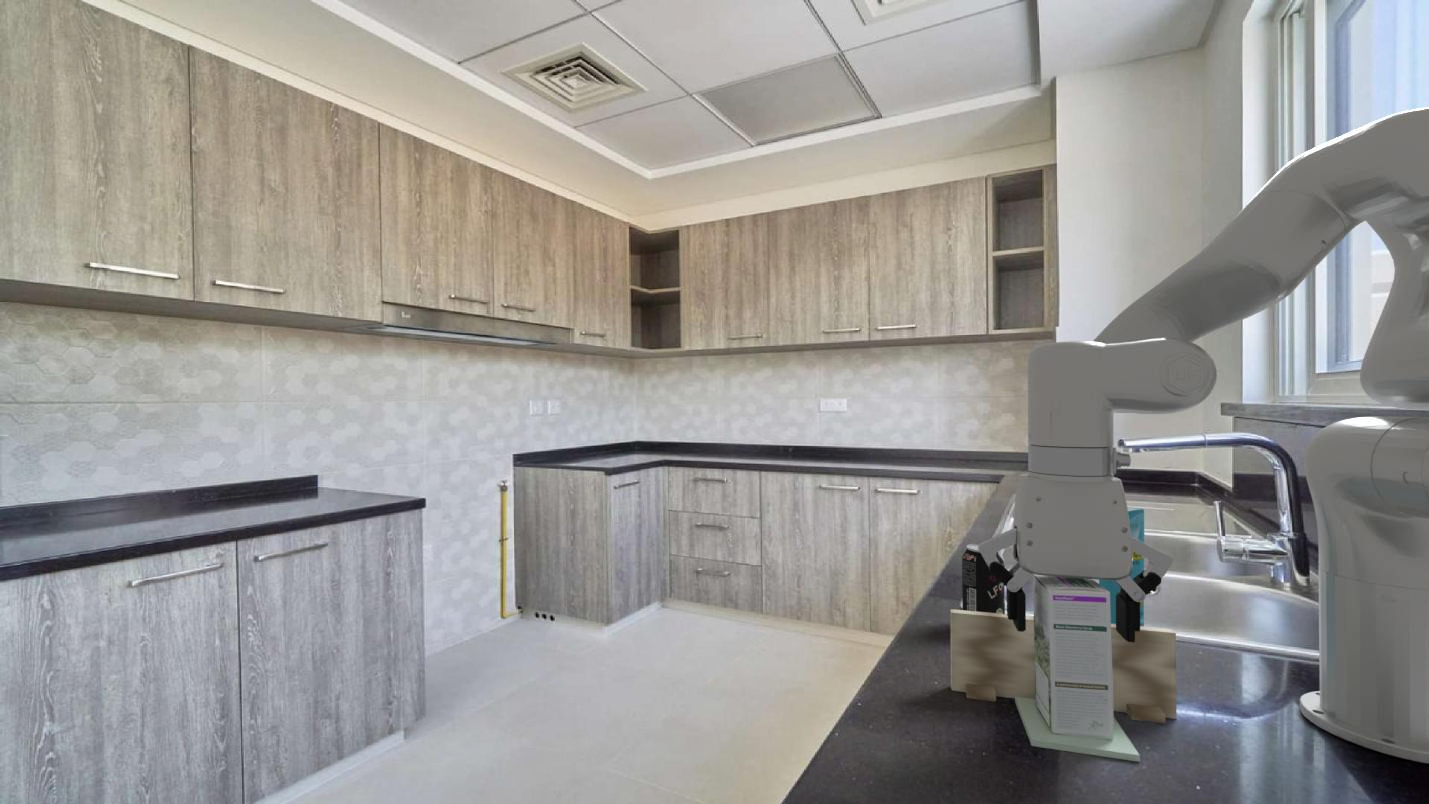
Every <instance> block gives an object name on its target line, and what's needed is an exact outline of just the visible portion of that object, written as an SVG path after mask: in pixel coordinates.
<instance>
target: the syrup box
mask: <svg viewBox="0 0 1429 804" xmlns="http://www.w3.org/2000/svg"><path fill="white" fill-rule="evenodd" d="M1032 579H1033V580H1032V583H1033V584H1032V585H1033V586H1032V587H1033V592H1032V594H1033V598H1032V600H1033V601H1032V602H1033V603H1032V604H1033V617H1034V650H1035V697H1036V707H1037V709H1038V710H1039V712H1040V714H1041V715H1042V717H1043V719H1044V720H1045V722H1046V724H1047V725H1048V727H1049V729H1050V730H1051V732H1053V733H1056V734H1063V735H1069V736H1078V737H1087V738H1098V739H1110V740H1113V738H1114V728H1113V716H1114V711H1113V675H1112V642H1111V610H1110V592H1109V591H1108V590H1106V589H1105V588H1104V587H1102V586H1101V585H1099V582H1097V581H1096V580H1095V579H1082V578H1068V577H1055V576H1043V575H1035V574H1034V575H1033V576H1032Z"/></svg>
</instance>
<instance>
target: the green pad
mask: <svg viewBox="0 0 1429 804" xmlns="http://www.w3.org/2000/svg"><path fill="white" fill-rule="evenodd" d="M1014 702H1015V706H1016V708H1017V711H1018V714H1019V716H1020V719H1021V721H1022V724H1023V727H1024V729H1025V733H1026V735H1027V737H1028V740H1029V742H1030V745H1031V747H1037V748H1044V749H1051V750H1057V751H1064V752H1071V753H1077V754H1085V755H1092V756H1099V757H1103V758H1104V757H1105V758H1111V759H1117V760H1124V761H1125V760H1126V761H1131V762H1137V763H1141V756H1140V754H1139V752H1138V750H1137V749H1136V748H1135V746H1134V745H1133V743H1132V741H1131V740H1130V738H1129V737H1128V735H1127V734H1126V733H1125V731H1124V730H1123V728H1122V727H1121V725H1120V724H1119V722H1118V721H1117V720H1116V718H1115V717H1114V715H1113V728H1114V738H1113V740H1110V739H1098V738H1087V737H1078V736H1069V735H1063V734H1056V733H1053V732H1051V730H1050V729H1049V727H1048V725H1047V724H1046V722H1045V720H1044V719H1043V717H1042V715H1041V714H1040V712H1039V710H1038V709H1037V707H1036V699H1030V698H1022V697H1015V698H1014Z"/></svg>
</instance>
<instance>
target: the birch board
mask: <svg viewBox="0 0 1429 804" xmlns="http://www.w3.org/2000/svg"><path fill="white" fill-rule="evenodd" d="M949 613H950V616H949V617H950V688H951V691H953V692H963V693H965V695H966V698H967V699H971V700H972V699H973V700H981V701H989V702H995V703H996V702H997V697H1001V698H1007V699H1008V698H1009V699H1015V697H1022V698H1030V699H1036V697H1035V650H1034V616H1032V615H1030V616H1029V615H1026V631H1024V632H1021V631H1017V629H1016V627H1015V625H1014V623H1013V620H1009V619H1008V617H1007V613H1005V614H999V613H988V612H976V611H965V610H962V609H954V608H953V609H951V608H950V612H949ZM1176 635H1177V632H1175V630H1173V629H1172V628H1166V627H1165V628H1162V627H1154V626H1153V627H1151V626H1144V627H1143V626H1140V631H1135V642H1127V640H1125V639H1124V638H1123V637H1122V636H1121V635H1120V634H1119V633H1118V632H1117V630H1116V624H1111V642H1112V675H1113V712H1118V713H1126V714H1127V716H1128V717H1130V718H1129V719H1131V720H1134V721H1142V722H1143V721H1144V722H1149V723H1150V722H1151V723H1159V724H1166V719H1172V720H1173V719H1174V720H1177V718H1178V717H1177V636H1176Z"/></svg>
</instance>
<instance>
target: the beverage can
mask: <svg viewBox="0 0 1429 804" xmlns="http://www.w3.org/2000/svg"><path fill="white" fill-rule="evenodd" d="M978 545H979V543H971V544H970V543H969V544H967V545H966V546H965V547H966V550H965V551H964V553H963V554H962V556H961V571H962V573H961V575H962V576H961V582H962V583H961V584H962V585H961V586H962V587H961V588H962V589H961V591H962V603H961V604H962V605H961V606H962V609H961V610H965V611H976V612H988V613H999V614H1006V601H1005V600H1006V599H1005V597H1006V596H1005V595H1006V594H1005V593H1006V592H1005V590H1006V586H1005V585H1004V584H1003V583H1002V582H1001V581H1000V580H999V579H998V578H997V577H996V576H995V575H994V574H993V573H992V572H991V571H990V569H989V567H988V565H987V563H986V562H985V560H984V558H983V556H982V554H981V553H980V551H979V549H978ZM996 557H997V559H998V561H999V562H1000V563H1001V564H1002V565H1003V566H1004V567H1005V558H1004V557H1003V555H1002V553H1001V551H998V552H997V553H996ZM1005 568H1006V567H1005Z"/></svg>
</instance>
